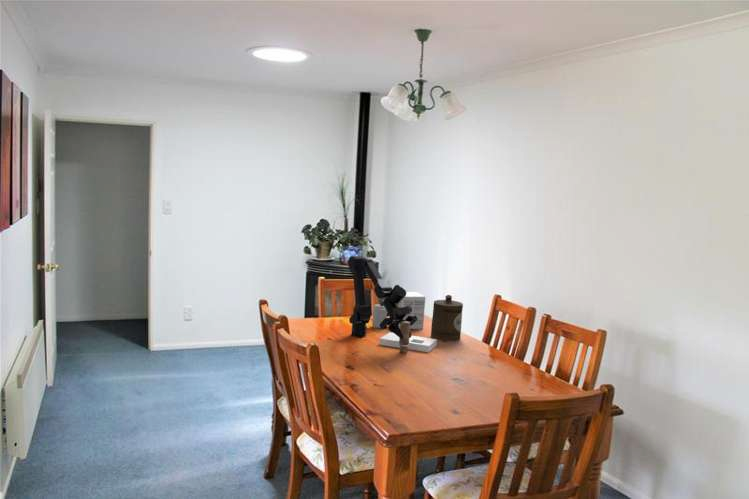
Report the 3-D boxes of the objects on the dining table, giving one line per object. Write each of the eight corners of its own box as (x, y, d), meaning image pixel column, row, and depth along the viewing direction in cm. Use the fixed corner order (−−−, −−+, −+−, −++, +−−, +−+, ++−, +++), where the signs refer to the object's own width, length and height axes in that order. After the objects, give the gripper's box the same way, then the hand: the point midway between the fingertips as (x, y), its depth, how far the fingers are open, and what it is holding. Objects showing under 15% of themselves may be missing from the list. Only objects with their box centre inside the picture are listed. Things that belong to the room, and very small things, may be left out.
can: (386, 326, 342) (388, 304, 340) (385, 329, 334) (387, 306, 333) (372, 325, 342) (374, 303, 341) (371, 328, 335) (372, 305, 333)
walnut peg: (396, 353, 291) (398, 322, 289) (400, 350, 295) (402, 320, 293) (406, 354, 289) (408, 324, 287) (409, 352, 293) (411, 322, 292)
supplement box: (392, 323, 350) (394, 291, 348) (414, 323, 354) (417, 291, 352) (400, 329, 337) (402, 296, 335) (423, 329, 341) (426, 296, 339)
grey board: (379, 344, 303) (379, 338, 303) (389, 338, 316) (389, 332, 316) (428, 352, 295) (429, 345, 295) (436, 345, 308) (436, 339, 308)
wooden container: (461, 342, 317) (465, 298, 315) (431, 340, 317) (434, 296, 315) (458, 335, 332) (461, 293, 329) (429, 333, 332) (432, 291, 329)
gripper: (385, 300, 287) (399, 330, 279) (416, 297, 298) (431, 326, 291) (373, 314, 294) (386, 343, 286) (404, 311, 305) (418, 339, 298)
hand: (406, 338), depth 290 cm, fingers closed on walnut peg, 4 cm apart
